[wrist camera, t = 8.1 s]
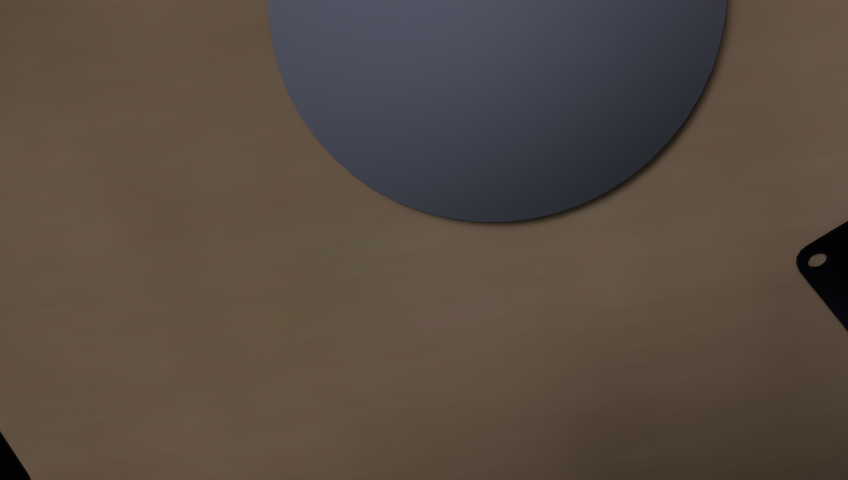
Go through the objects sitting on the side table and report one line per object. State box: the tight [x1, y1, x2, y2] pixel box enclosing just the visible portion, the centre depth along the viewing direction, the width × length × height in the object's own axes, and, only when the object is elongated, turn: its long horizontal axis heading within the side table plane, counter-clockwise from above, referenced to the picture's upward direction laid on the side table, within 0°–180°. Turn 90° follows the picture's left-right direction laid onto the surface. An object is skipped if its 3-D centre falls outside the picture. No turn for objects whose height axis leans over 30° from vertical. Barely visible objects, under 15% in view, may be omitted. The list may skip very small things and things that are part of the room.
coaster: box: [268, 0, 727, 222], centre depth 18 cm, size 10×10×1 cm
